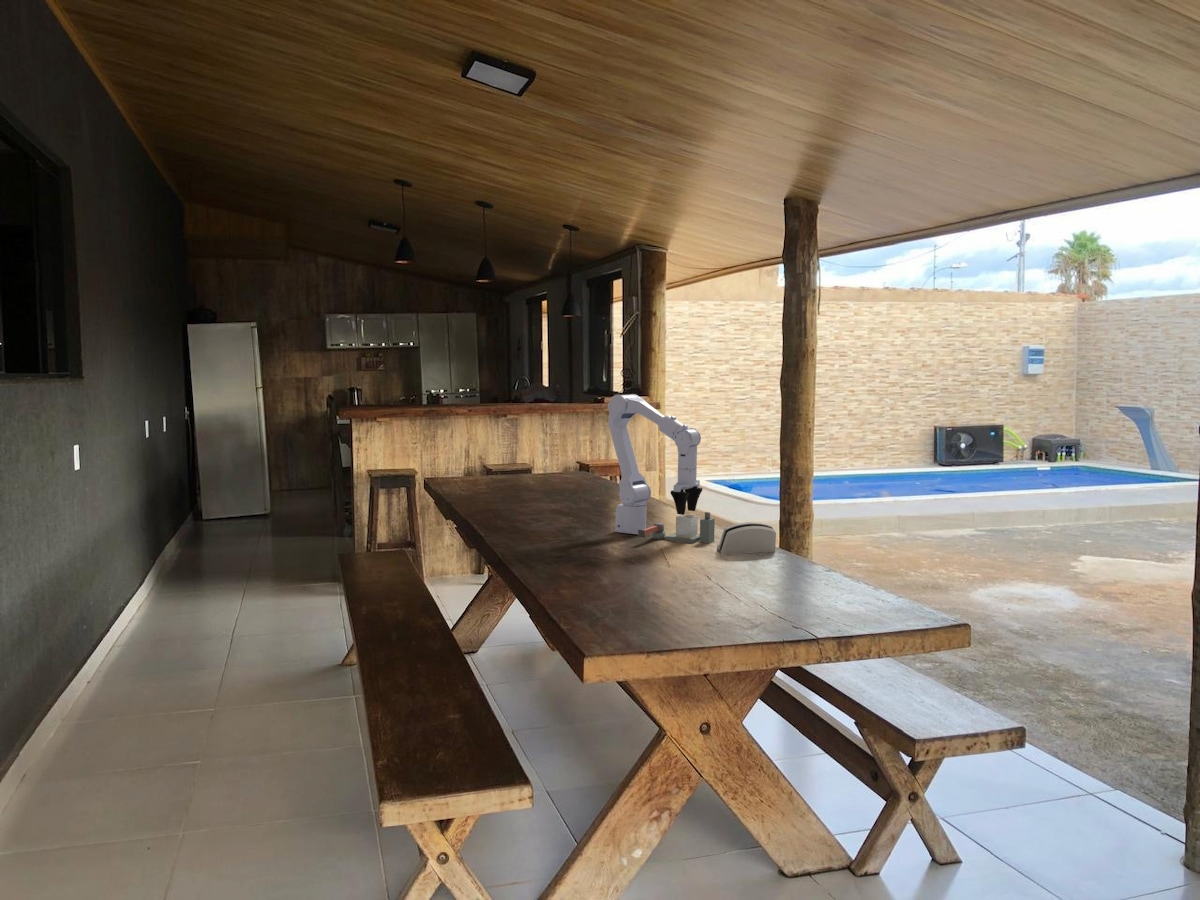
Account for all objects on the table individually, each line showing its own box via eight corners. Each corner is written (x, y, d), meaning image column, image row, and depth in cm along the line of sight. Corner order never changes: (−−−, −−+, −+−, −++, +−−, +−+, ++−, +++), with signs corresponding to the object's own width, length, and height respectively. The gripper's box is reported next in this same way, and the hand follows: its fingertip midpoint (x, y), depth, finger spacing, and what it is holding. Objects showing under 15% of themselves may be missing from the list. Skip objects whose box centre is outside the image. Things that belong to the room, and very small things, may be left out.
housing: (675, 535, 287) (675, 516, 286) (682, 533, 291) (682, 514, 290) (690, 537, 284) (690, 517, 283) (697, 534, 288) (697, 515, 288)
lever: (635, 536, 279) (635, 529, 279) (656, 529, 291) (656, 522, 291) (644, 537, 278) (644, 530, 277) (665, 530, 289) (665, 523, 289)
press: (649, 538, 288) (650, 509, 288) (663, 533, 297) (663, 505, 296) (704, 545, 279) (705, 515, 278) (717, 539, 287) (718, 510, 286)
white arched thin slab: (768, 548, 275) (774, 518, 271) (774, 556, 271) (780, 526, 267) (715, 550, 271) (720, 520, 267) (721, 559, 267) (726, 529, 262)
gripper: (688, 471, 277) (687, 517, 279) (709, 467, 290) (707, 510, 291) (667, 470, 281) (666, 514, 282) (688, 465, 293) (687, 508, 295)
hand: (686, 512), depth 287 cm, fingers open, 7 cm apart
